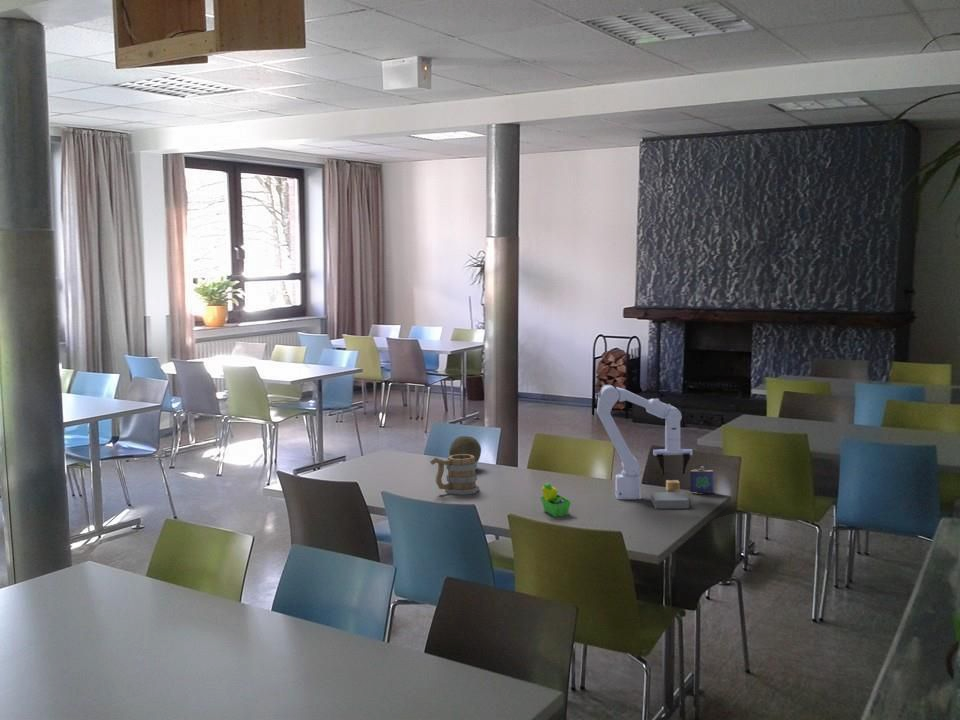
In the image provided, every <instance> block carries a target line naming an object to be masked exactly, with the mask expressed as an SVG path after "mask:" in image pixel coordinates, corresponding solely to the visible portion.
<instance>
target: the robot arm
mask: <svg viewBox="0 0 960 720" xmlns="http://www.w3.org/2000/svg"><path fill="white" fill-rule="evenodd" d="M597 396H598V397H597V406H596V414H597V416H598V418H599V420H600V422H601V423H602V425H603V427H604V430H605V432H606V433H607V435H608V437H609V438H610V441H611V442H612V445H613V446H614V448H615V451H616V453H617V454H618V456H619V458H620V465H621V467H622V471H620V473H619V474H615V481H614V482H615V484H614V485H615V488H614V493H615V497H616V499H617V500H642V499H643V496H642V494H641V472H640V471H641V464H640V463H639V461H638V460H637V457H636V456H634V455H633V454H632V452H631V451H630V449H629V447H628V445H627V443H626V441H625V439H624V437H623V436H622V433H621V431H620V429H619V427H618V426H617V424H616V421H615V420H614V419H613V416H612V414H611V412H612V409H613V407H614V405H615V404H617V402H618V401H619V403H620V402H625V401H627V402H629V403H632V404H635V405H637V406H640V407H642V408H645V410H646V413H648V414H651V415H653V416H656V417H657V418H660V419H665V427H664V448H663V449H661V448H660V449H653V450H652V453H653V456H655V457H656V459H657V461H658V465H659V467H660V471H661V472H660V473H661V475H665V458H664V456H681V474H682V475H685V472H686V468H687V466H688V463H689V461H690V459H691V456H693V455H694V454H693V449H691V448H688V449H687V448H681V421H682V418H683V416H682V413H681V411H680V410H679V408H677V407H675V406H673V405H672V404H670V403H668V404H667V403H665V402H662V401H660V398H649V399H647V398H645V397H642V396H640V395H638V394H636V393H633V392H631V391H630V390H627V389H625V388H621V387H619V386H613V385H611V384H605V385H603V386H602V387H601V389H600V391H599V392H598V395H597ZM640 494H641V495H640ZM637 498H638V499H637ZM641 498H642V499H641Z"/></svg>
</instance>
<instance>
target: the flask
mask: <svg viewBox="0 0 960 720" xmlns="http://www.w3.org/2000/svg"><path fill="white" fill-rule="evenodd" d="M690 492H697V493H708V494H707V495H712V494H714V493H715V471H714V470H712V469H708V470H707V469H706V470H705V467H704V465H703V466H702V465H701V466H700V468H699V469H698V468H697V469H695V468H694V469H692V470H689V493H690Z"/></svg>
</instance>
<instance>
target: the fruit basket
mask: <svg viewBox="0 0 960 720" xmlns="http://www.w3.org/2000/svg"><path fill="white" fill-rule="evenodd" d="M541 491H542V496H540V501H541V502H542V506H543V509H544V512H546V513H547V514H549V515H551V516H553V517H563V516H568V513H569V509H570V506H571V503H572V501H571V500H569V499H568V498H565V497H563V496H561V495H559V494H558V492H559V489H557V488H556V487H554V486H552V485H551V484H550V482H549V483H543V485H542V487H541Z"/></svg>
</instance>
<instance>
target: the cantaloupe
mask: <svg viewBox="0 0 960 720" xmlns="http://www.w3.org/2000/svg"><path fill="white" fill-rule="evenodd" d="M481 447H482V446H481V444H480V442H479V441H478V440H477V438H475V437H473V436H469V435H462V436H460V435H459V436H458V437H456V438H455V439H454V440H453V441H452V443H451V444H450V447H449V451H448V452H449V454H448V455H449V456H451V455H458V454H468V455H473V456H475V462H476V463H477V464H478V463H479V460H480V458H481V454H482V448H481ZM449 456H448V457H449Z"/></svg>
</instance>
